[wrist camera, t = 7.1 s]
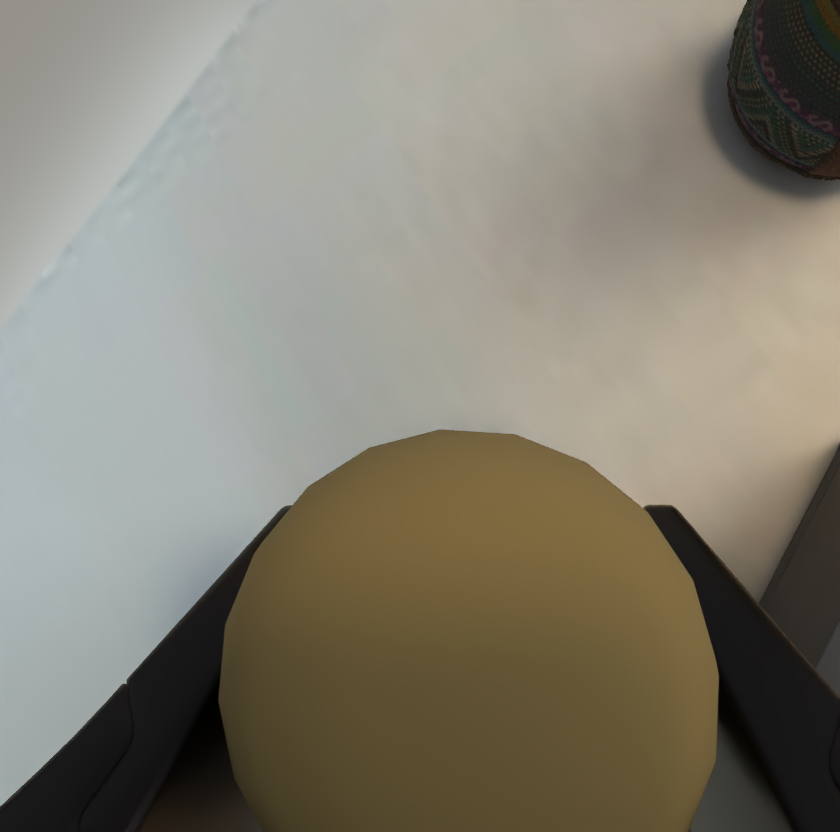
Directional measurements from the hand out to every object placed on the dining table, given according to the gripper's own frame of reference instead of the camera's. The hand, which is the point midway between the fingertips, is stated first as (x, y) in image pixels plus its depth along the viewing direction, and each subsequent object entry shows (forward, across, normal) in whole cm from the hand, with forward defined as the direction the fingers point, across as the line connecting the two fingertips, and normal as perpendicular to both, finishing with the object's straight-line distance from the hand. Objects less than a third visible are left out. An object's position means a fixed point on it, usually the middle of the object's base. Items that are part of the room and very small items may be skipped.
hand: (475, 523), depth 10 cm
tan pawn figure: (+4, 0, +6) cm, 7 cm away
